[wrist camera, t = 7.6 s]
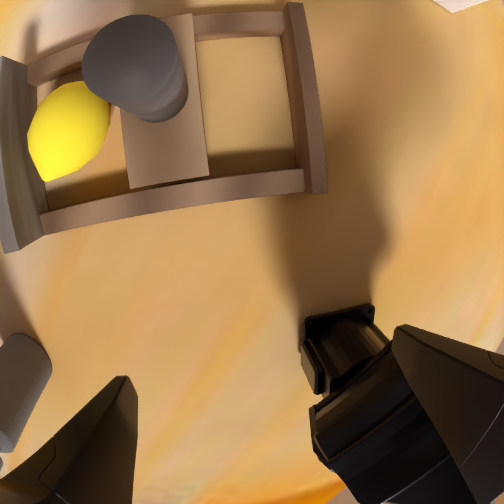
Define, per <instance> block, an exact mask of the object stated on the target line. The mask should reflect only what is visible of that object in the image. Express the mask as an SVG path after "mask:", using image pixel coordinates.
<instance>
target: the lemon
mask: <svg viewBox="0 0 504 504" xmlns="http://www.w3.org/2000/svg"><path fill="white" fill-rule="evenodd" d="M109 125H110V108H109V104H108V101H106V100H104V99H102V98H100V97H99V96H97V95H95V94H94V93H92V92H91V91H90V90H89V88H88V87H87V86H86V84H85V82H84V81H77V82H72V83H67V84H63V85H62V86H60V87H59V88H57V89H56V90H54V91H53V92H51V93H50V94H49V95H48V96H47V97H46V98H45V99H44V100H43V101H42V102H41V103H40V104H39V105H38V108H37V110H36V113H35V115H34V117H33V120H32V122H31V125H30V128H29V130H28V133H27V139H28V149H29V153H30V155H31V158H32V160H33V162H34V165H35V167H36V169H37V171H38V173H39V174H40V176H41V178H42V180H43V181H46V182H48V181H51V180H54V179H56V178H59V177H61V176H64V175H67V174H70V173H73V172H76V171H77V170H79V169H80V168H81V167H82V166H84V165H85V164H86V163H87V162H89V161H90V160H91V159H92V158H93V157H94V156H95V155H97V154H98V153H99V152H100V149H101V147H102V144H103V142H104V140H105V137H106V134H107V131H108V128H109Z"/></svg>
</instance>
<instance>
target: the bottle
mask: <svg viewBox="0 0 504 504" xmlns="http://www.w3.org/2000/svg"><path fill="white" fill-rule="evenodd" d="M51 374H52V364H51V361H50V359H49V357H48V355H47V354H46V352H45V351H44V349H43V348H42V347H41V346H40V345H39V344H38V343H37V342H36V341H34V340H33V339H32V338H30V337H28V336H26V335H23V334H13V335H11V336H10V337H9V338H8V339H7V340H6V341H5V343H4V344H3V345H2V346H1V347H0V452H2V453H11V452H13V450H14V448H15V447H16V444H17V442H18V440H19V438H20V436H21V434H22V432H23V429H24V427H25V425H26V423H27V421H28V419H29V417H30V415H31V413H32V411H33V409H34V407H35V405H36V403H37V401H38V399H39V397H40V395H41V393H42V391H43V390H44V388H45V386H46V384H47V382H48V380H49V378H50V376H51ZM2 466H3V461H2V459H1V457H0V471H1V468H2Z"/></svg>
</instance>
